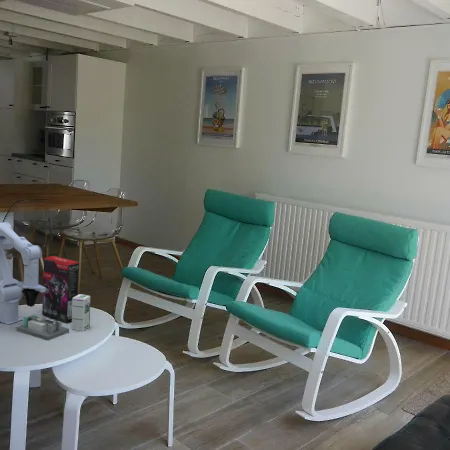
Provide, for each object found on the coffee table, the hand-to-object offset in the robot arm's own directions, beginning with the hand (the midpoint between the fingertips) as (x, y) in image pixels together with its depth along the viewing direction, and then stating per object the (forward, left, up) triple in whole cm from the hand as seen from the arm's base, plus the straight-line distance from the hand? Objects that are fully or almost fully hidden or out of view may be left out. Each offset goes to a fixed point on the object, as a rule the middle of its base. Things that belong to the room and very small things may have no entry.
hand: (30, 305), depth 222 cm
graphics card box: (-1, +18, -11) cm, 21 cm away
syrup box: (+15, +14, -11) cm, 23 cm away
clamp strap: (+6, +1, -7) cm, 9 cm away
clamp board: (+6, +2, -10) cm, 12 cm away
